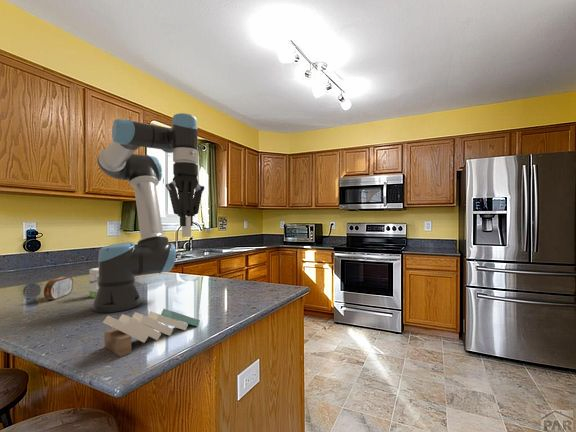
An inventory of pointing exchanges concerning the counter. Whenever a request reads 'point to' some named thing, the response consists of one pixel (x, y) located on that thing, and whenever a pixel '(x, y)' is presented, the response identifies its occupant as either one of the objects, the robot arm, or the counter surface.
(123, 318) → the ivory domino
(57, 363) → the counter surface
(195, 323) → the teal domino
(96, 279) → the ink box
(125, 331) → the ivory domino
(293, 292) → the counter surface
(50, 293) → the tin
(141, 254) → the robot arm
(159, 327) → the ivory domino
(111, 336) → the walnut block
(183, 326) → the ivory domino
